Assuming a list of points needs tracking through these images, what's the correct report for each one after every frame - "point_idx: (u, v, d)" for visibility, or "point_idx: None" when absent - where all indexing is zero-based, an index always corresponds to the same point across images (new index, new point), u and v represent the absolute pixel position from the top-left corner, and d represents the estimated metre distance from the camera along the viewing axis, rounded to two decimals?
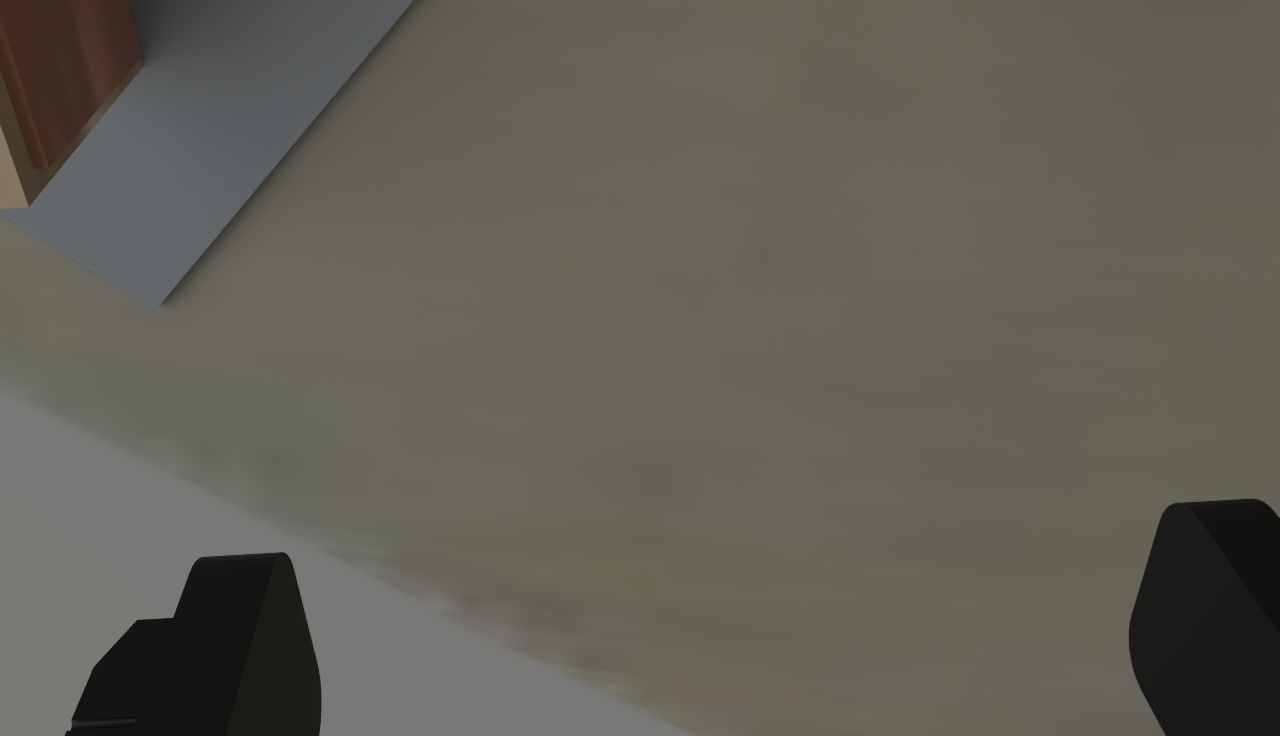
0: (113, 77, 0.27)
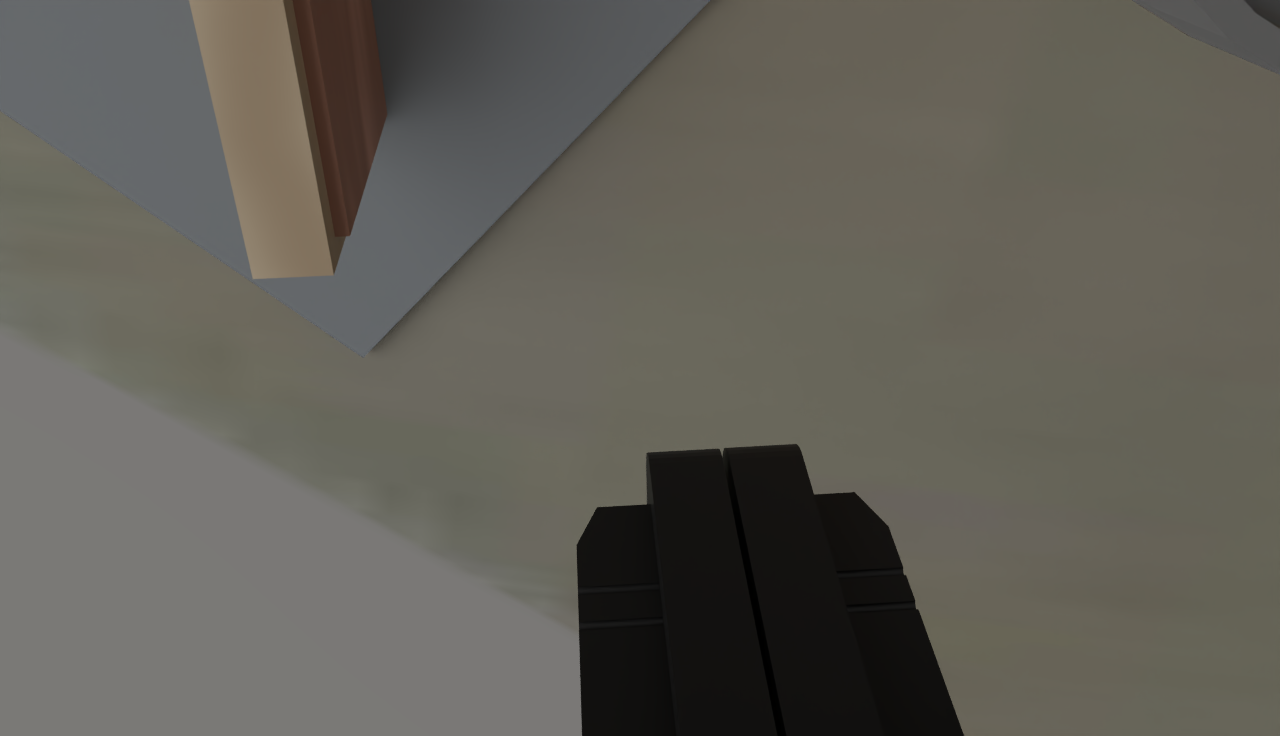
0: (375, 139, 0.27)
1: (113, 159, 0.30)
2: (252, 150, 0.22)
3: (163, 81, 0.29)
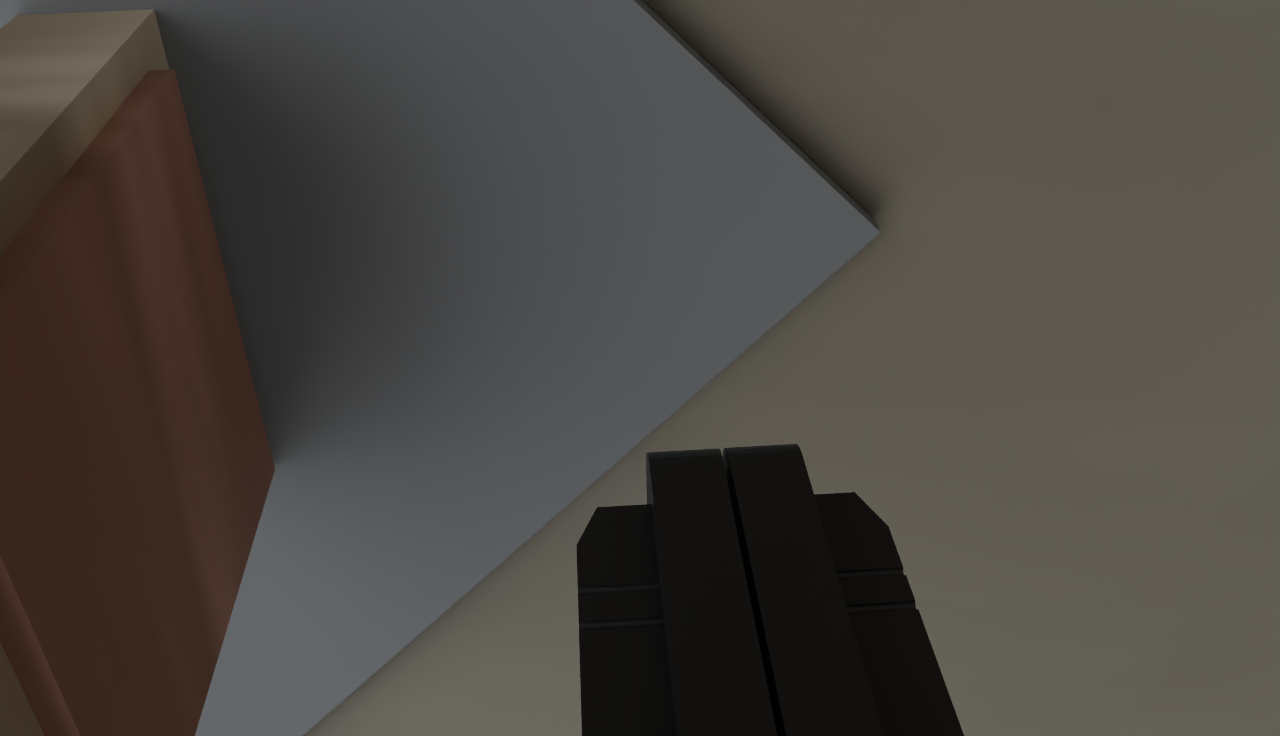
0: (240, 558, 0.15)
1: None
2: None
3: None
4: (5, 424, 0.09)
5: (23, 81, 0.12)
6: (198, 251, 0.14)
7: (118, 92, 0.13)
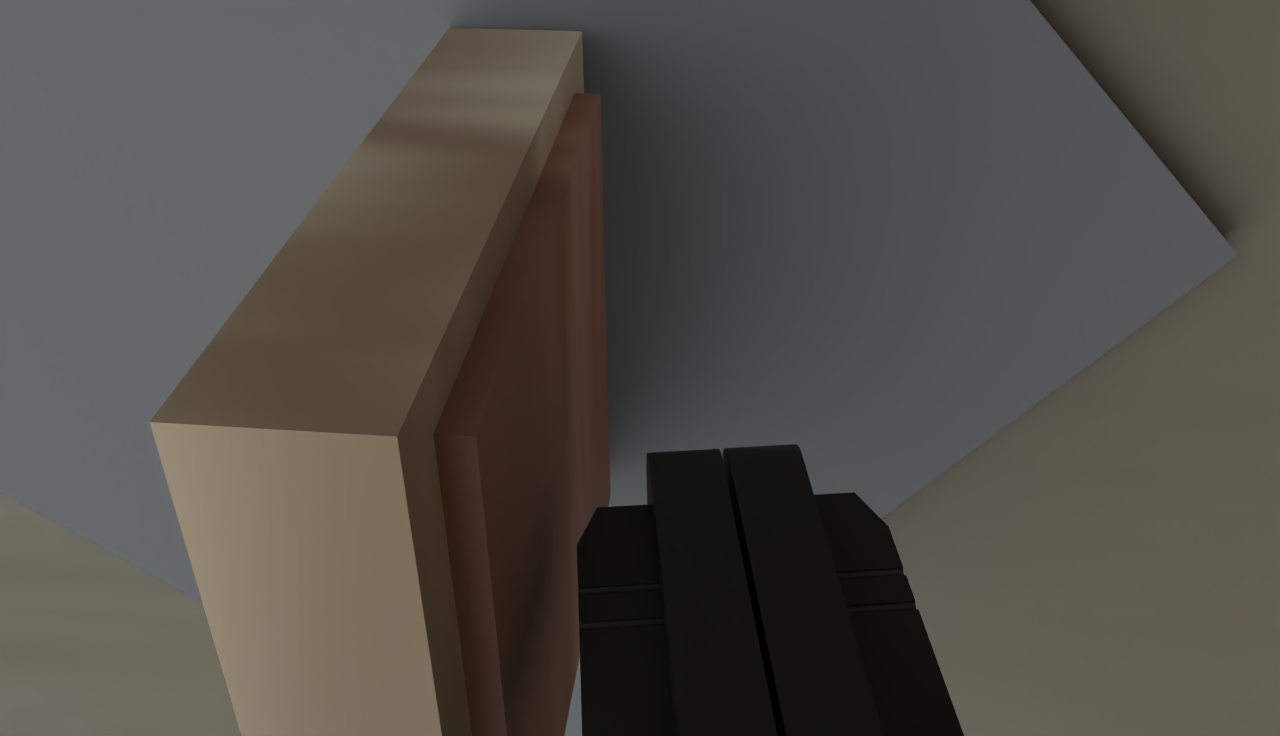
0: None
1: (147, 533, 0.18)
2: None
3: None
4: (503, 461, 0.09)
5: (482, 99, 0.12)
6: (595, 276, 0.14)
7: (559, 115, 0.13)
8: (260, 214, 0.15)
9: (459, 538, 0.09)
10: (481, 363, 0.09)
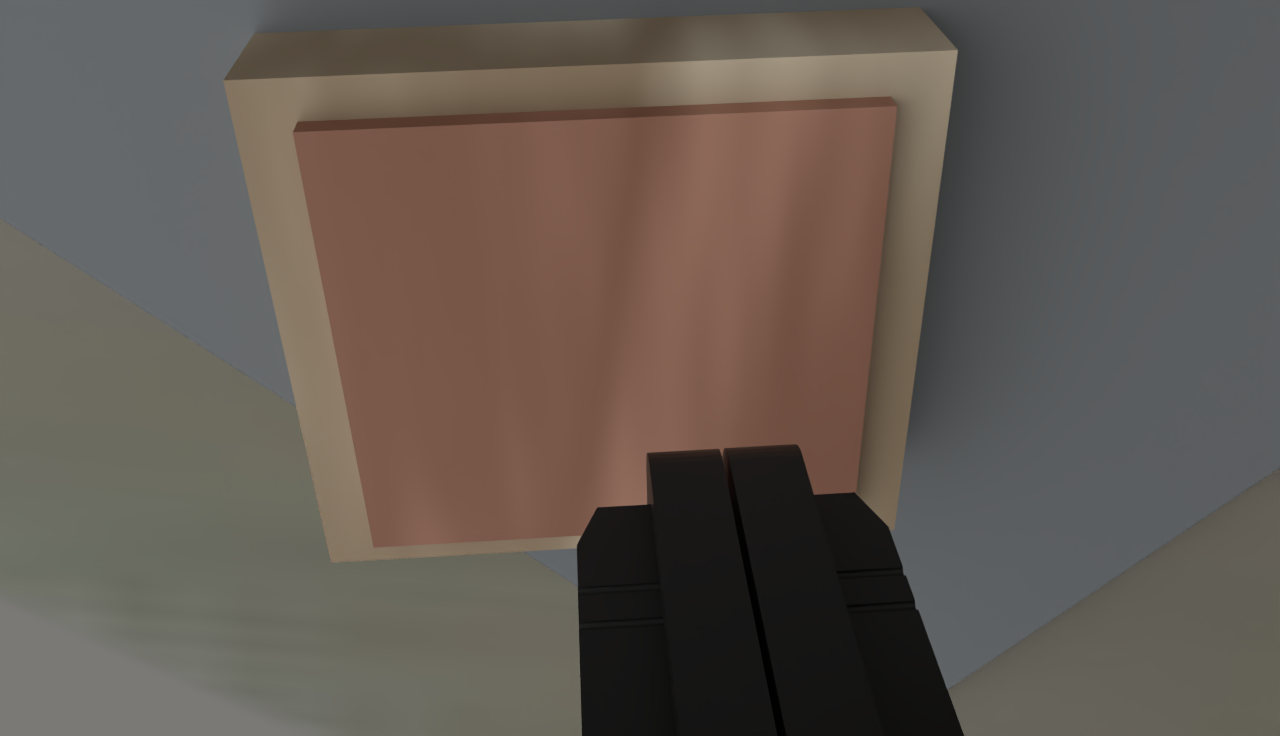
0: None
1: None
2: None
3: None
4: (370, 196, 0.13)
5: (743, 39, 0.13)
6: (816, 267, 0.14)
7: (799, 89, 0.13)
8: None
9: None
10: (381, 124, 0.13)
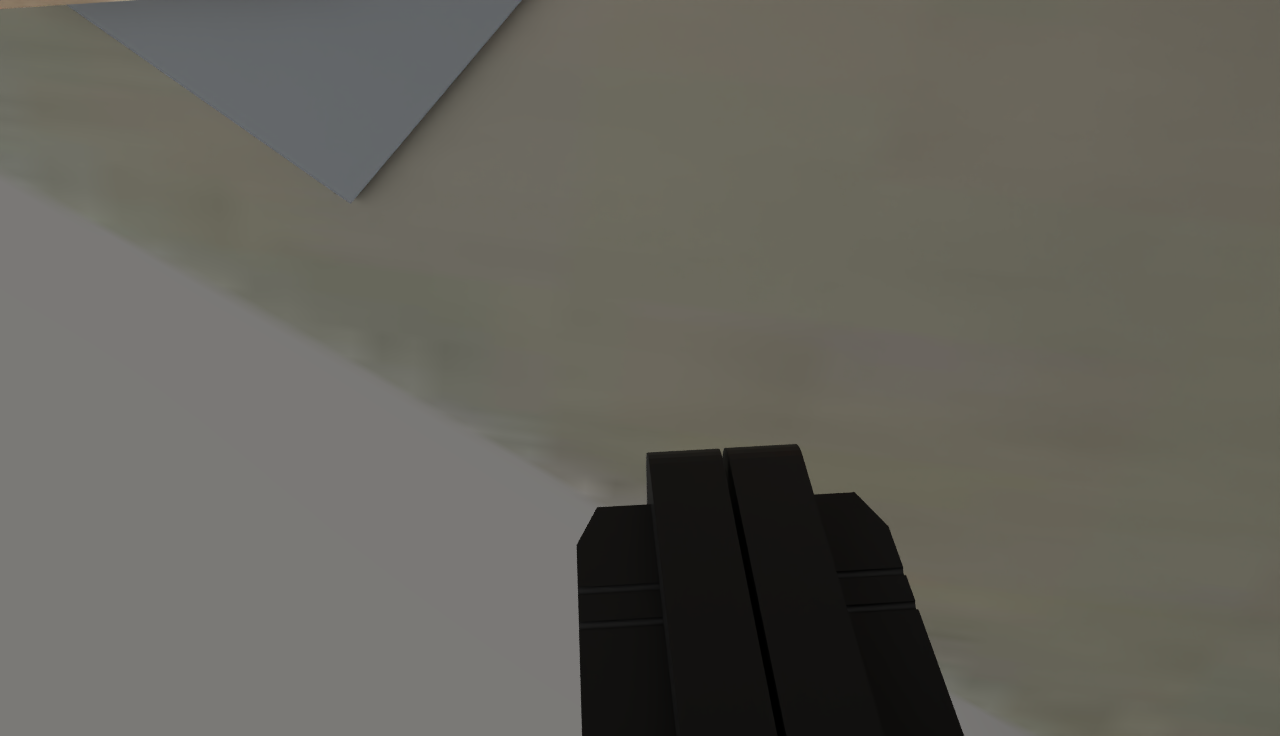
0: None
1: (113, 9, 0.33)
2: None
3: None
4: None
5: None
6: None
7: None
8: None
9: None
10: None
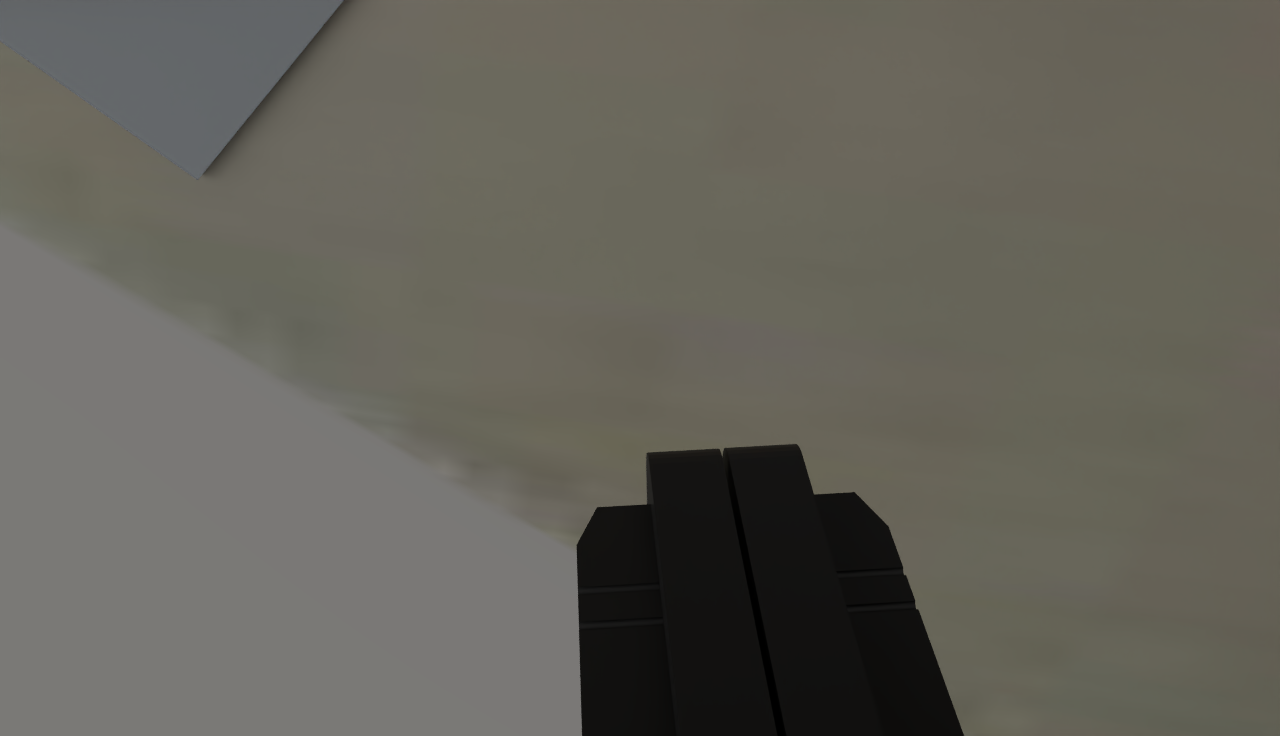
0: None
1: None
2: None
3: None
4: None
5: None
6: None
7: None
8: None
9: None
10: None
